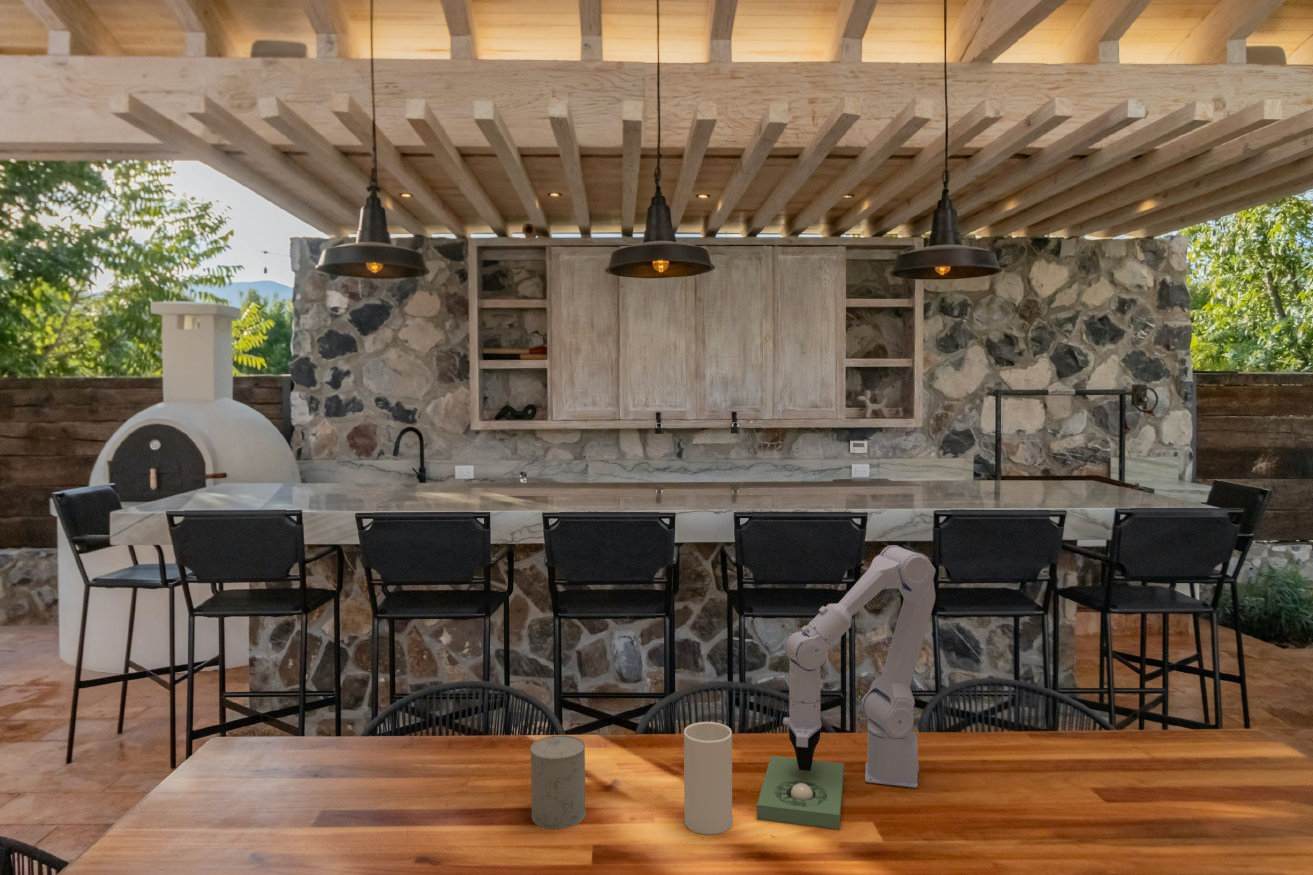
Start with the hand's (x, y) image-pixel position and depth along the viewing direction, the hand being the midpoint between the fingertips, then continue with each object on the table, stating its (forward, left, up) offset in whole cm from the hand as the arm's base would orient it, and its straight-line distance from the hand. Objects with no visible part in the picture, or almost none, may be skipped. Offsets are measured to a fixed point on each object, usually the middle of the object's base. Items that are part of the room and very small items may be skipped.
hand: (804, 768), depth 154 cm
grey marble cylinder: (+41, +21, -4) cm, 46 cm away
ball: (0, +8, -1) cm, 8 cm away
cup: (+15, +17, -4) cm, 23 cm away
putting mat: (0, +4, -3) cm, 5 cm away
